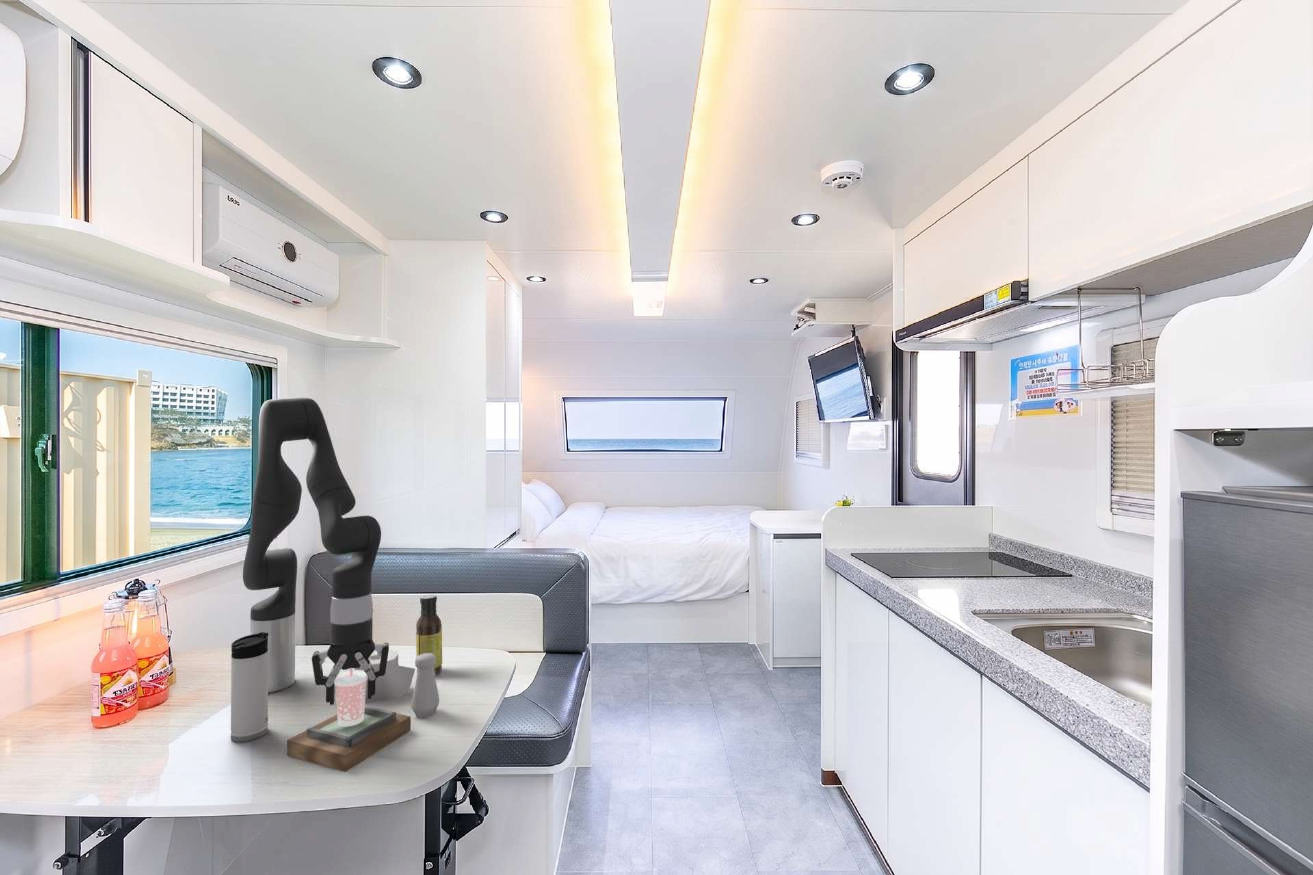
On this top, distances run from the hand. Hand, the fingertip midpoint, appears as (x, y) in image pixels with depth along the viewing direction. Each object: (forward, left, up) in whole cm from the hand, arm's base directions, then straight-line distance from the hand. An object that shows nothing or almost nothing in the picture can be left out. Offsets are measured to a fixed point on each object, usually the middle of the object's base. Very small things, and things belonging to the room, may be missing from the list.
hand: (351, 700), depth 117 cm
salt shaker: (+5, +15, -9) cm, 18 cm away
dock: (0, 0, -8) cm, 8 cm away
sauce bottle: (-10, +33, -9) cm, 36 cm away
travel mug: (-22, -5, -9) cm, 24 cm away
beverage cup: (0, 0, -4) cm, 4 cm away
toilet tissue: (-12, +20, -9) cm, 25 cm away
